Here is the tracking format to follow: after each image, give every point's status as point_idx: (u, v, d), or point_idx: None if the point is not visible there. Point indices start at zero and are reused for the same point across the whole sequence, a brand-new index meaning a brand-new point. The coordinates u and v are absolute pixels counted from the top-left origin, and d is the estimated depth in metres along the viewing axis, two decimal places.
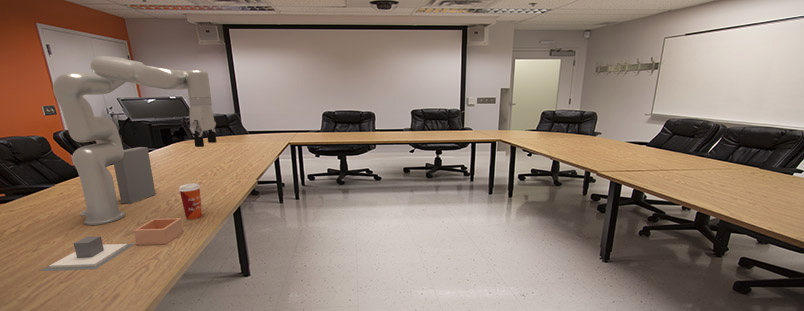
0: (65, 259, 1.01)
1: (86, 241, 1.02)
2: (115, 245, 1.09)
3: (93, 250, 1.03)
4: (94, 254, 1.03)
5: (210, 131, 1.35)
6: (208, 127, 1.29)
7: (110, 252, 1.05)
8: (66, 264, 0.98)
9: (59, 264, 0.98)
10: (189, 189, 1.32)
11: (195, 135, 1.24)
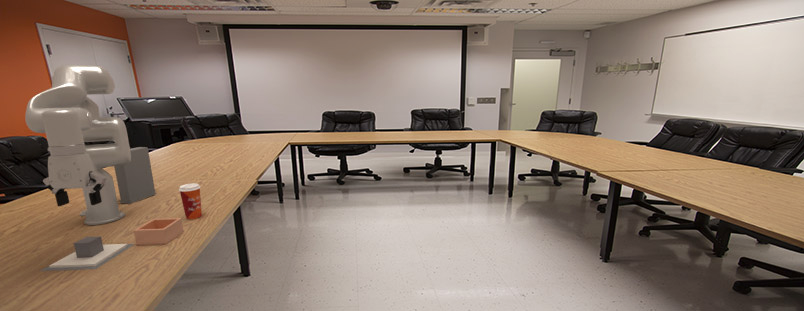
0: (65, 259, 1.01)
1: (86, 241, 1.02)
2: (115, 245, 1.09)
3: (93, 250, 1.03)
4: (94, 254, 1.03)
5: (59, 190, 0.99)
6: None
7: (110, 252, 1.05)
8: (66, 264, 0.98)
9: (59, 264, 0.98)
10: (189, 189, 1.32)
11: (99, 189, 1.00)
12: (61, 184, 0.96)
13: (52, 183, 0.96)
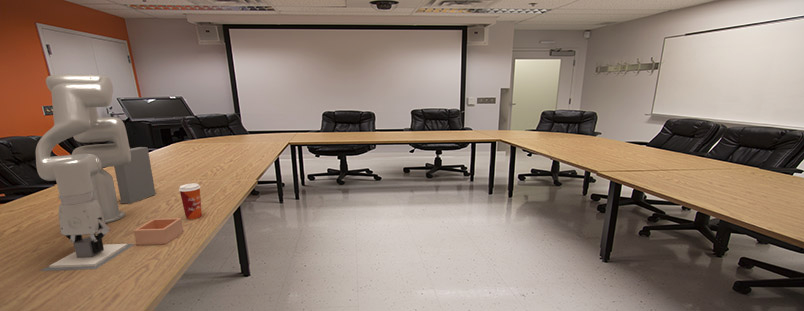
0: (65, 259, 1.01)
1: (86, 241, 1.02)
2: (115, 245, 1.09)
3: None
4: (94, 254, 1.03)
5: (77, 238, 1.03)
6: None
7: (110, 252, 1.05)
8: (66, 264, 0.98)
9: (59, 264, 0.98)
10: (189, 189, 1.32)
11: (101, 237, 1.03)
12: (71, 231, 0.99)
13: (63, 230, 0.99)
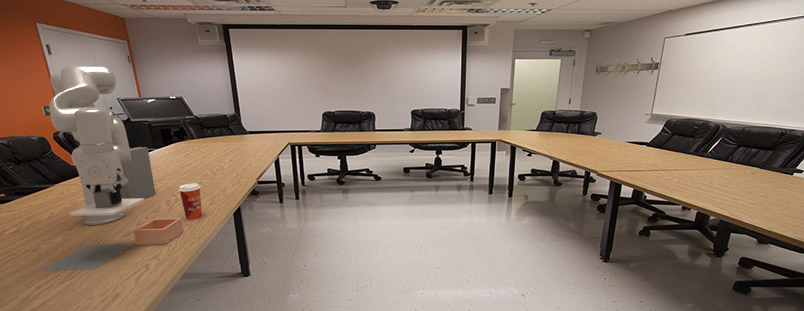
0: (84, 208, 1.03)
1: (105, 192, 1.03)
2: (133, 199, 1.11)
3: None
4: (113, 205, 1.04)
5: (96, 188, 1.04)
6: None
7: (127, 204, 1.06)
8: (86, 212, 1.00)
9: (79, 212, 1.00)
10: (189, 189, 1.32)
11: (119, 189, 1.05)
12: (91, 180, 1.01)
13: (83, 179, 1.01)
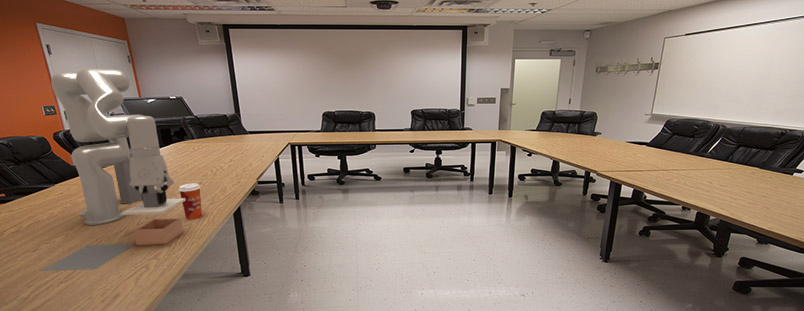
0: (134, 208, 1.11)
1: (152, 192, 1.12)
2: (175, 199, 1.19)
3: None
4: (159, 204, 1.13)
5: (144, 189, 1.13)
6: None
7: (172, 203, 1.15)
8: (137, 211, 1.08)
9: (130, 211, 1.08)
10: (189, 189, 1.32)
11: (165, 189, 1.13)
12: (140, 182, 1.09)
13: (133, 181, 1.09)
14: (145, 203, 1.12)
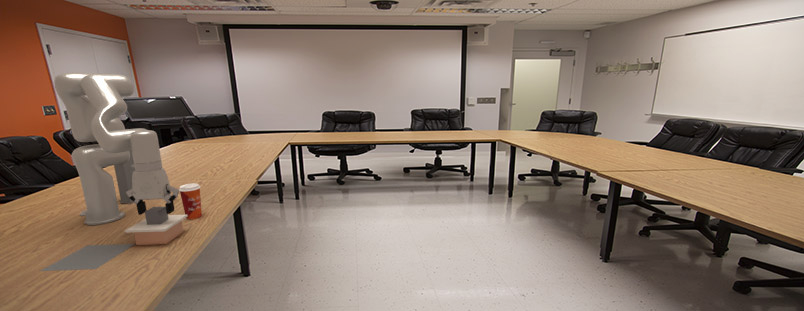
0: (136, 225, 1.12)
1: (155, 210, 1.13)
2: (177, 216, 1.21)
3: (161, 218, 1.14)
4: (162, 221, 1.15)
5: (139, 200, 1.13)
6: None
7: (174, 221, 1.16)
8: (139, 229, 1.10)
9: (133, 229, 1.10)
10: (189, 189, 1.32)
11: (173, 199, 1.14)
12: (143, 195, 1.10)
13: (135, 195, 1.10)
14: (148, 220, 1.13)
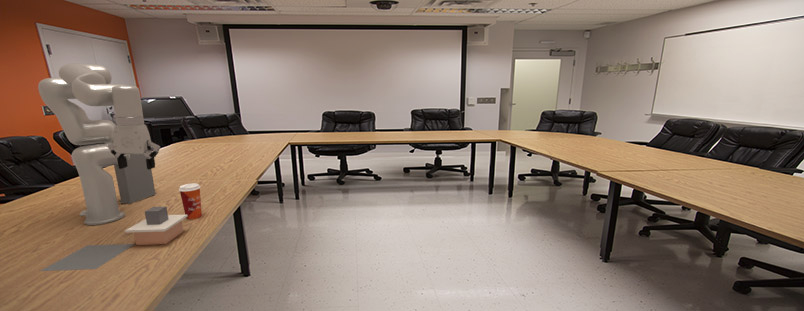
0: (136, 225, 1.12)
1: (155, 210, 1.13)
2: (177, 216, 1.21)
3: (161, 218, 1.14)
4: (162, 221, 1.15)
5: (120, 155, 1.16)
6: None
7: (174, 221, 1.16)
8: (139, 229, 1.10)
9: (133, 229, 1.10)
10: (189, 189, 1.32)
11: (154, 156, 1.17)
12: (124, 150, 1.13)
13: (116, 148, 1.13)
14: (148, 220, 1.13)
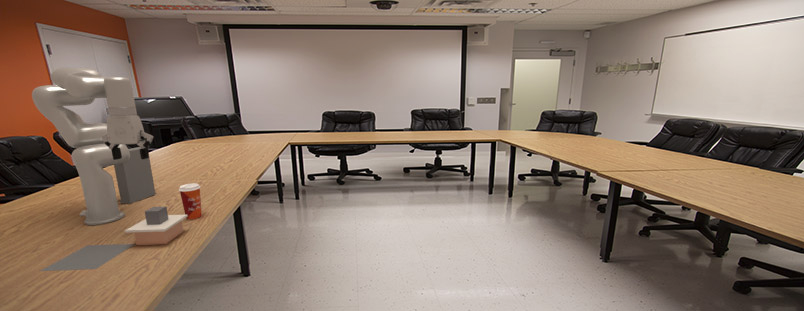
0: (136, 225, 1.12)
1: (155, 210, 1.13)
2: (177, 216, 1.21)
3: (161, 218, 1.14)
4: (162, 221, 1.15)
5: (114, 146, 1.18)
6: None
7: (174, 221, 1.16)
8: (139, 229, 1.10)
9: (133, 229, 1.10)
10: (189, 189, 1.32)
11: (147, 146, 1.19)
12: (117, 140, 1.15)
13: (110, 139, 1.15)
14: (148, 220, 1.13)
